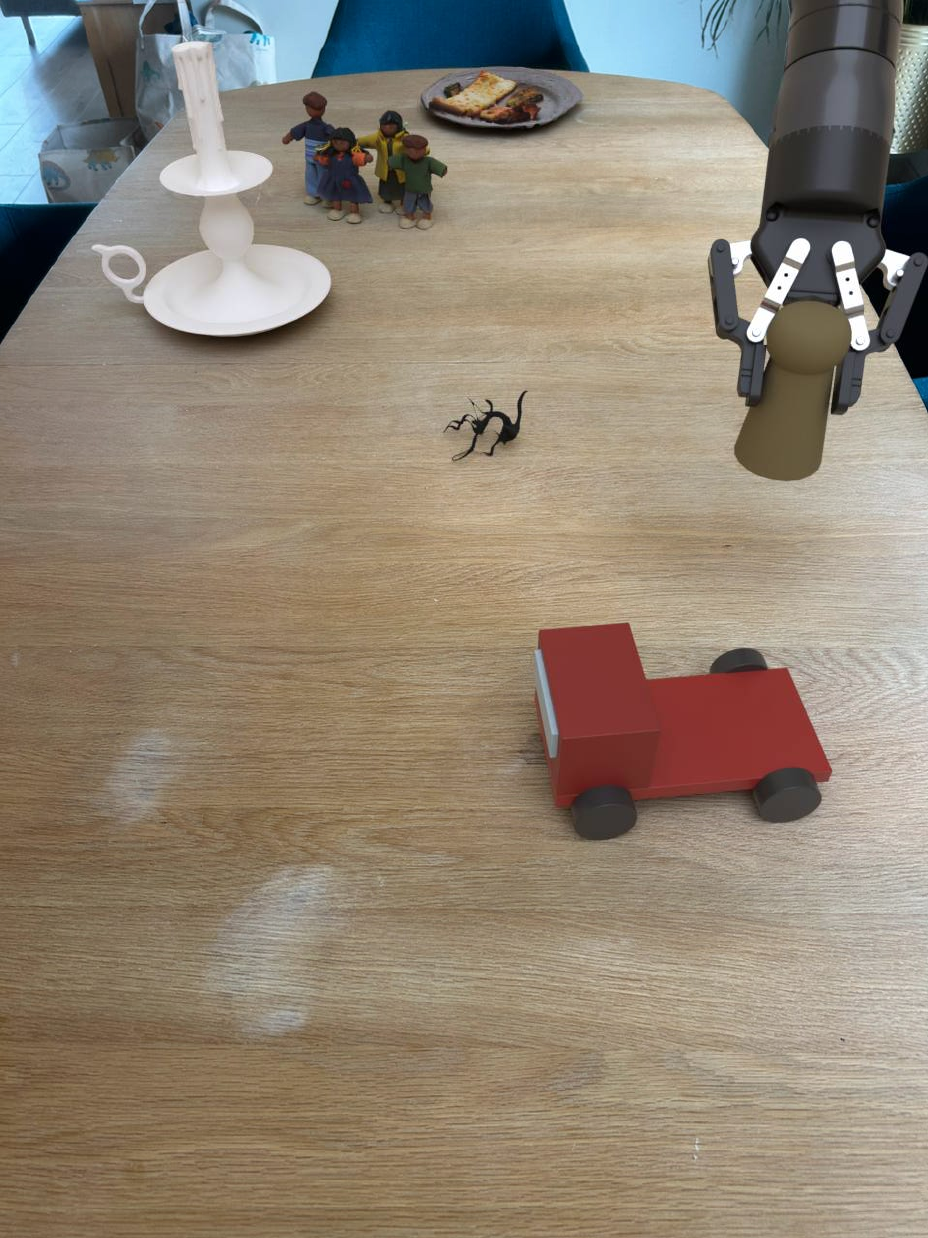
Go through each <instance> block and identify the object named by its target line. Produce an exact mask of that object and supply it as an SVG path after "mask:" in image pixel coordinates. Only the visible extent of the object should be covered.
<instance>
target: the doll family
mask: <svg viewBox="0 0 928 1238" xmlns="http://www.w3.org/2000/svg"><path fill="white" fill-rule="evenodd" d="M302 105H304V106H305V107H304V108H305V111H306V113H307V115H308V116H309V117H310V119H309V120H306V121H304V122H301V123H299V124H296V125H295V126H293V127H291V128H290V130H289V132H287V133H286V135H285V136H283V137H282V139H281V142H282V144H283V145H284V146H287V145H289V144H290V143H291V142H293V141H294V140H295V142H300V141H302V140H303V139H304V145H305V146H304V160H305V169H304V183H305V194H306V196H305V197H304V198H303V202H304V203H305V204H306V205H315V204H317V203H319V202H320V201H322V202H321V206H322V207H323V208H333V209H331V210H330V211H329V212H328V214H327V218H328V219H329V220H331V221H332V220H333V221H337V220H341V219H342V218H343V217H344V216H345V215H346V214H347V212H346V211H345V209H344V208H343V207H342V201H343V202H347V203H350V213H349V214H348V215H347V217H346V221H347V223H350V224H351V223H354V224H357V223H360V222H362V221H363V218H362V215H361V214H360V213H359V211H360V210H359V205H364V204H372V203H374V199H373V196H372V194H371V191H370V189H369V186H368V185H367V183H366V180H365V179H364V177H363V176H362V175H361V174H360V168H361V167H366V166H367V165H368V164H371V163H373V162H374V156H373V155H372V154H371V153H370V151H369V149H370V150H376V162H375V167H374V176H375V177H377V178H378V179H379V180H378V188H377V189H378V190H377V195H378V196H379V197H380V199H382V200H383V203H381V204H380V206H379V208H378V211H380V212H381V213H385V214H386V213H387V214H388V213H392V212H394V211H395V212H396V214H397V215H402V216H405V217H403V218H401V219H400V220H399V221H398V225H397V226H398V227H399V228H401V229H411V228H413V227H416V228H418V229H421V230H429V229H430V228H432V227H433V226H434V224H435V220H434V219H433V218H432V212H433V211H434V204H433V202H432V192H433V191H434V186H433V184H432V179H433V178H432V177H433V176H432V175H436V176H437V177H439V178H441V179H443V178H444V177H445V176H446V175H447V174H448V165H446V164H445V163H443V162H442V161H439V160H438V159H436V158H435V157H433V156H430V153H431V147H429V140H428V139H427V137H425V136H423V135H420V134H414V133H413V134H410V132H409V131H408V130H407V129H406V126H408V125H409V121H405V122H403V116H402V115H401V114H400V113H399V112H398V111H396V110H390V109H388V110H386V111H385V112H383V114H382V115H381V117H379V119H378V122H379V127H377V131H375V132H373V133H371V134H368V135H365V136H359V137H357V138H356V134H355V132H354V131H353V130H351V129H350V127H342V126H339V127H336V128H335V126H334V125H332V124H331V123H327V122H325V121H323V118H322V117H323V116H324V115H325V112H326V107H327V105H328V99H326V97H325V96H323V95H322V94H320V93H318V92H317V91H313V90H312V91H310V92H309V93H307V94H305V95H303V97H302ZM367 149H368V150H367ZM393 201H400V202H399V203H400V204H399V205H398V206H397V208H396V209H395V207H396V205H395V203H394V202H393ZM418 209H419V211H421V212H422V218H420V219H418V218H416V217H415V213H417V211H418Z"/></svg>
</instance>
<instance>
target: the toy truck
mask: <svg viewBox="0 0 928 1238" xmlns="http://www.w3.org/2000/svg"><path fill="white" fill-rule="evenodd" d="M537 637H538V638H537V639H538V640H537V649H534V653H533V669H532V673H533V674H532V675H533V680H534V684H535V685H534V686H535V689H534V705H535V710H536V715H537V719H538V725H539V730H540V734H541V740H542V746H543V751H544V757H545V759H546V761H545V762H546V766H547V771H548V776H549V781H550V786H551V791H552V796H553V802H554V807H555V808H562V807H570V810H571V816H572V820H573V825H574V829H575V831H576V833H577V834H578V835H579V836H580V837H582V838H584V839H587V840H592V841H602V840H603V841H606V840H611V839H614V838H618V837H620V836H623V835H624V834H626V833H628V832H629V831H630V830H632V829H633V828H634V827H635V826H636V824H637V822H638V813H637V809H636V806H635V805H636V804H635V802H634V801H638V800H648V799H658V798H659V799H661V798H669V797H679V796H680V797H681V796H691V795H699V794H700V795H702V794H712V793H722V792H723V793H724V792H734V791H743V790H744V791H745V790H752V795H753V798H754V801H755V804H756V807H757V809H758V812H759V815H760V816H761V818H763V819H764V820H765V821H768V822H771V823H781V824H782V823H789V822H790V823H791V822H794V821H797V820H800V819H803V818H805V817H806V816H809V815H810V814H812V813H814V812H815V811H816V810H817V809H818V808H819V806H820V805H821V803H822V799H823V796H822V793H821V790H820V788H819V785H818V783H828V782H830V781H829V780H830V778H831V776H832V774H833V769H832V767H831V764H830V762H829V760H828V758H827V755H826V753H825V751H824V748H823V746H822V743H821V741H820V739H819V737H818V734H817V732H816V730H815V728H814V725H813V723H812V721H811V719H810V716H809V714H808V712H807V710H806V707H805V705H804V703H803V700H802V697H801V696H800V694H799V691H798V689H797V686H796V685H795V682H794V680H793V678H792V675H791V673H790V671H789V668H788V667H776V668H769V667H768V664H767V662H766V659H765V657H764V655H763V654H762V653H761V651H759V650H757V649H754V648H752V647H751V648H750V647H739V648H734V649H731V650H728V651H726V652H724V653H722V654H721V655H718V657H717V658H715V659H714V661H713V662H712V663H711V665H710V668H709V673H708V674H707V673H706V674H695V675H685V676H673V677H661V678H648V679H647V677H646V675H645V671H644V667H643V664H642V661H641V657H640V654H639V651H638V647H637V644H636V641H635V638H634V635H633V632H632V627H631V625H630V622H618V623H617V622H616V623H606V624H593V625H581V626H569V627H557V628H556V627H555V628H545V629H539V630H538V636H537Z"/></svg>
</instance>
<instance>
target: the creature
mask: <svg viewBox="0 0 928 1238" xmlns="http://www.w3.org/2000/svg"><path fill="white" fill-rule="evenodd" d="M526 393H528V390H523V391H522V393H521V394H520V395H519V397H518V400H517V403H516V409H517V410H516V411H517V416H516V420H515V423H513V422H512V421H511V418H510V416H508V415H507V414H505V412H502V411H500V410H494V404H493V402H492V400H490V399H486V398H485V399H484V401H485V402H486V404H488V405H489V411H482V410H481V409H480V408H479V407H478V406H477V404H476V403H475V402H474V401H472V399H470V398H468V400H469V401H470V403H471V405H472V407H473V409H474V413H475V416H476V418H475V417H474V416H473V415H472V414H469V413H466V414H464V415H463V416H462V417H461V420H458V419H453V420H451V421H450V422H449V424H448V425H446V427H445V429H444V430H443V431H442V433H443V434H444V433H445V432H446V431H447V430H448V429H449V428H451V429H452V430H454V431H456V432H458V431H460V430H461V427H462V425H464V422H468V423H469V424H470V426H471V428H472V432H474V436H473V438H472V442H471V446H470V447H469V449H467V450H464V451H463V452H459V453H458V454H455V455H453V456H452V457H451V461H453V462H456V461H459V460H462V459H464V458H466V457H467V456H468V455H470V454H471V453H472V452H475V454H478V452H477V451H474V450H475V447H476V443H477V441H478V436H479V435H480V436H482V435H483V434H485V433H488V432H489V430H487V431H485V430H486V428H487V426H488V425H489V422H490V420H492V419H493V418H499V419H500V420H501V421H502V427H501V429H500V432H499V433H498V432H497V431H496V430H495V429H493V430H492V432H495V434H496V435H497V436H498V437H497V439H496V441H495V442H494V443H493V444H492V445H491V447H490V451H489V452H486V451H482V452H481V454H485V455H487V456H489V457H491V456H493V454H494V451H495V448H496V446H497V445H498V444H499V443H502V444H503V445H504V446H505V445H506V443H509V442H511V441H513V440H515V439H516V438H517V437H518V434H519V433H520V430H521V419H522V415H523V407H522V405H523V400H524V397H525V396H526ZM475 407H477V409H478V410H479V411H480V413H481V414H483V415H481V416H479V417H478V415H477V412H476V409H475ZM467 417H471V418H473V419H472V420H469V419H467ZM482 417H484V418H483V419H481V420H480V418H482ZM452 423H454V424H457V426H455V425H452ZM464 453H465V454H464ZM462 454H464V455H462ZM459 455H462V456H460V457H458V456H459ZM456 456H457V457H458V458H455V457H456ZM454 458H455V459H454Z"/></svg>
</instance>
